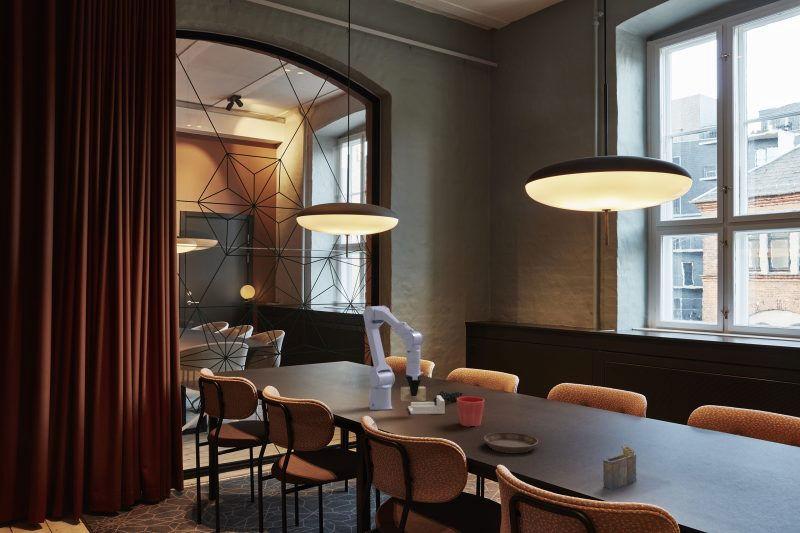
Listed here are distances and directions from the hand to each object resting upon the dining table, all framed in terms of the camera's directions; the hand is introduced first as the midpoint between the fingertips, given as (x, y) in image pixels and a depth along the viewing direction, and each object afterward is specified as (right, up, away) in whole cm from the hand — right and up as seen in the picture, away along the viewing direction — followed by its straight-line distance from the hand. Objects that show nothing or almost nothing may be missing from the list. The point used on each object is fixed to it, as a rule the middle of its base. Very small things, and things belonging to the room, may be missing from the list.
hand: (413, 394), depth 250 cm
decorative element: (+16, -9, +24) cm, 30 cm away
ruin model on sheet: (+55, -8, -83) cm, 99 cm away
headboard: (+6, -9, +8) cm, 13 cm away
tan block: (0, -2, 0) cm, 2 cm away
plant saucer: (+31, -8, -47) cm, 57 cm away
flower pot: (+22, -8, -15) cm, 28 cm away
